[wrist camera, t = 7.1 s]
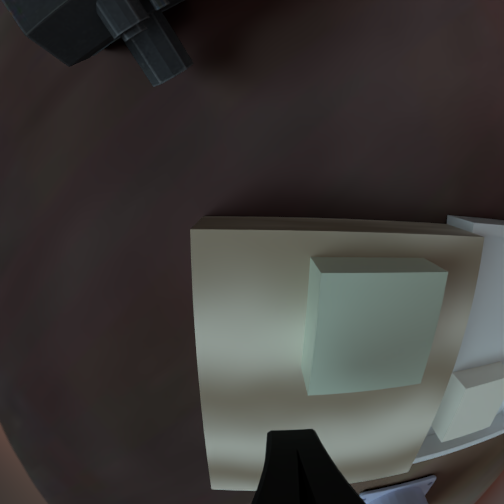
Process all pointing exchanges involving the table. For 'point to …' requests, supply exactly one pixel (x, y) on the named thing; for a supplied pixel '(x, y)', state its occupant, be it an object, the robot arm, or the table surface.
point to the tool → (104, 31)
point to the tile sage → (369, 322)
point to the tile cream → (470, 401)
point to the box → (478, 329)
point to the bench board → (292, 339)
